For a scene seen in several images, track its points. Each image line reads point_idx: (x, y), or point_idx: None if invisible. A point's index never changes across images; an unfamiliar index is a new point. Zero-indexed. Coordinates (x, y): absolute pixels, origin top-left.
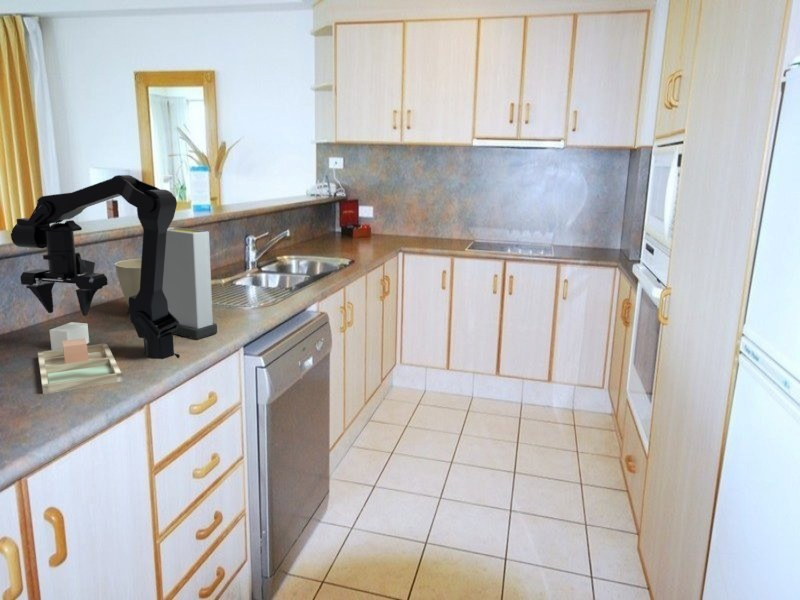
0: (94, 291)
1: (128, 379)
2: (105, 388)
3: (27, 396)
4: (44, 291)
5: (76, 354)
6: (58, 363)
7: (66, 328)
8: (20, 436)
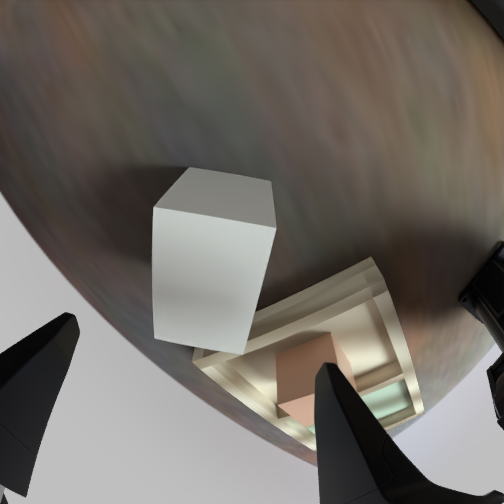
0: (432, 496)
1: (428, 380)
2: None
3: (287, 434)
4: (14, 449)
5: None
6: (274, 372)
7: (212, 319)
8: None
